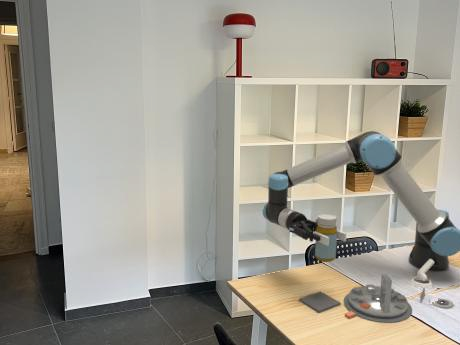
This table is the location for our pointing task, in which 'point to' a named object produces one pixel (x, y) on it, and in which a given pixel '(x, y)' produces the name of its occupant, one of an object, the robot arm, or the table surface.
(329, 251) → the bottle
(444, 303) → the bracket
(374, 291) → the round flange disc
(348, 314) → the pointer
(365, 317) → the plate
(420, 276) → the hook
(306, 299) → the pad
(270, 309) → the table surface
